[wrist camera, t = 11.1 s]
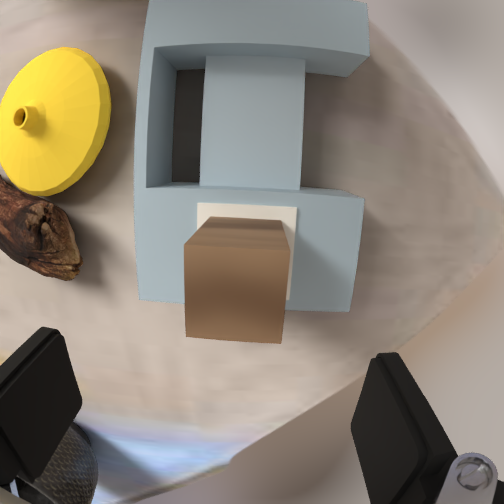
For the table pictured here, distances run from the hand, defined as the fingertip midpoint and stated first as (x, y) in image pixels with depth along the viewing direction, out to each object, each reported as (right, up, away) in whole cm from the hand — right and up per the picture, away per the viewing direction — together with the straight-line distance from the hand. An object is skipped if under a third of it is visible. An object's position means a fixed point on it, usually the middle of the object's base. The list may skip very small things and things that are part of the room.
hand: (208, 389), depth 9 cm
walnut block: (+1, +4, +15) cm, 15 cm away
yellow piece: (-19, +18, +19) cm, 33 cm away
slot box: (+1, +14, +20) cm, 24 cm away
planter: (-30, -26, +32) cm, 51 cm away
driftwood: (-25, +10, +22) cm, 35 cm away
